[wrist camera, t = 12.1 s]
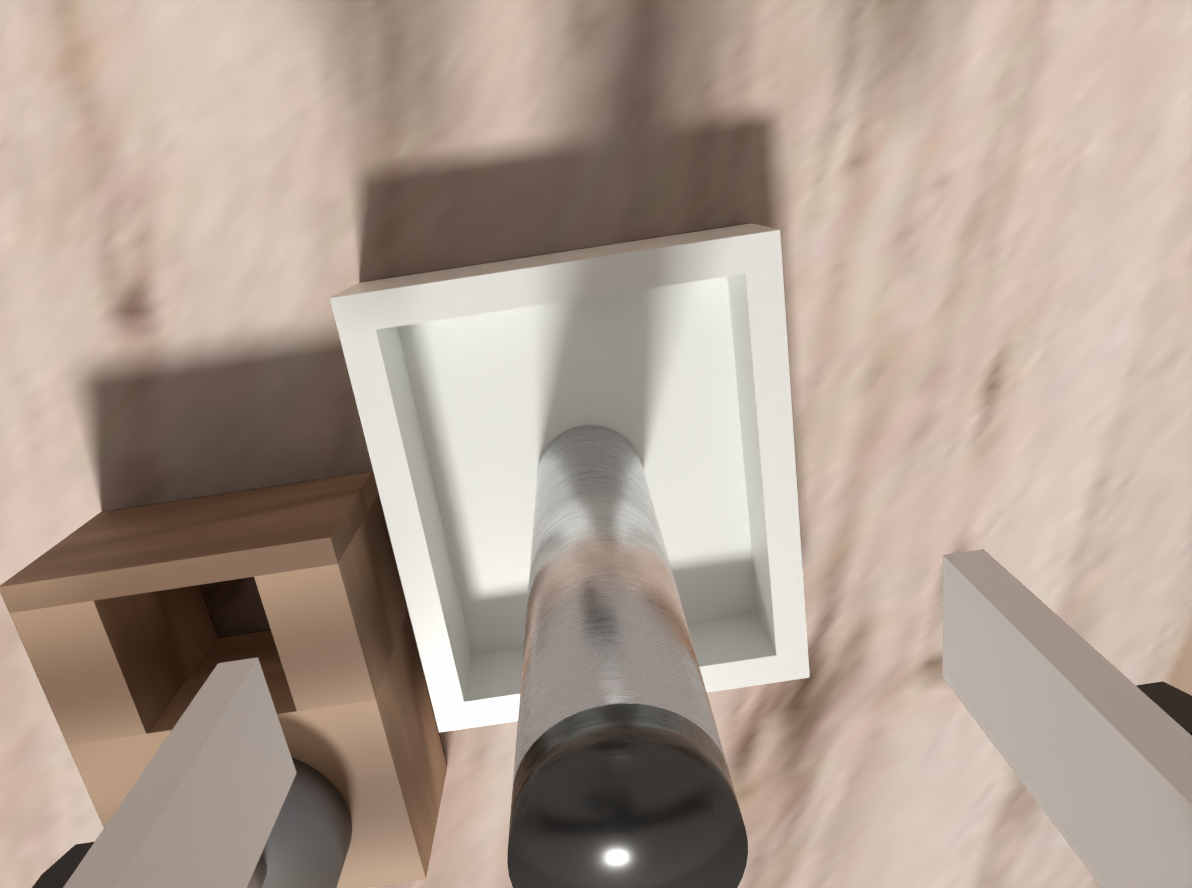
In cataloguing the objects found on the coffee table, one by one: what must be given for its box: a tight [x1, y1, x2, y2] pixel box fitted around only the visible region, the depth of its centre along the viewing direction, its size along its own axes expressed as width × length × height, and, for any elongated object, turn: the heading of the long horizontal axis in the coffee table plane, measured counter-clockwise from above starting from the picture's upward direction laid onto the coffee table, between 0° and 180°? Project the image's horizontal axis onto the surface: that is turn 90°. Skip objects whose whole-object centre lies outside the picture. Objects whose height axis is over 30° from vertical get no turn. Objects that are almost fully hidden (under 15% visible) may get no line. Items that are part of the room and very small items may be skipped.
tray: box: [330, 223, 809, 732], centre depth 25 cm, size 14×12×3 cm
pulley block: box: [0, 471, 447, 888], centre depth 24 cm, size 12×9×8 cm
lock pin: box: [508, 425, 748, 888], centre depth 18 cm, size 3×3×15 cm
